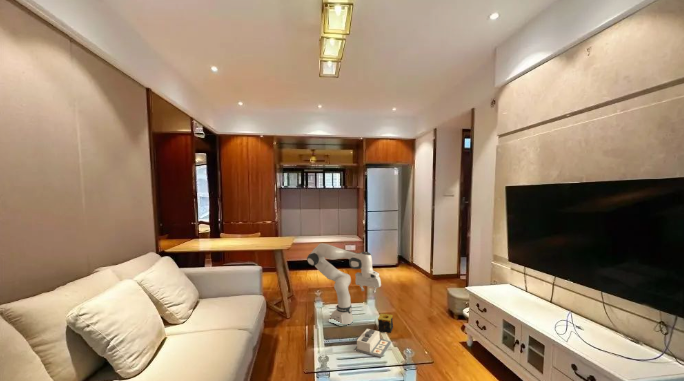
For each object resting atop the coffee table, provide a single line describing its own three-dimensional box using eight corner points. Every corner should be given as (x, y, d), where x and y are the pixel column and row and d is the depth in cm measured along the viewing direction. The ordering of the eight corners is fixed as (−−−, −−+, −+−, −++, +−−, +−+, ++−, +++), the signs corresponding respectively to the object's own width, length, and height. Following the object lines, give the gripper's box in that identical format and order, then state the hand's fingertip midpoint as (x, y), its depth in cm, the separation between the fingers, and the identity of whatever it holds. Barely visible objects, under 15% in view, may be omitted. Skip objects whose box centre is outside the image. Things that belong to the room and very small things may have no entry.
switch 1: (362, 348, 178) (361, 339, 178) (364, 345, 181) (363, 336, 181) (366, 349, 176) (366, 340, 176) (369, 346, 179) (368, 338, 179)
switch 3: (368, 340, 188) (368, 331, 188) (370, 337, 191) (370, 329, 191) (373, 341, 186) (372, 332, 186) (375, 338, 189) (374, 330, 189)
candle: (378, 332, 201) (377, 319, 201) (381, 325, 210) (380, 313, 211) (391, 333, 197) (390, 320, 197) (393, 327, 207) (392, 314, 207)
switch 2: (365, 342, 183) (364, 333, 183) (367, 339, 186) (366, 331, 186) (370, 343, 181) (369, 334, 181) (372, 340, 184) (371, 332, 184)
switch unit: (354, 350, 179) (353, 340, 179) (365, 336, 195) (365, 327, 195) (380, 358, 169) (380, 347, 169) (390, 342, 185) (390, 333, 185)
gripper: (353, 273, 198) (354, 291, 198) (377, 276, 188) (379, 295, 188) (357, 271, 204) (358, 288, 204) (381, 273, 193) (382, 291, 193)
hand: (368, 291), depth 195 cm, fingers open, 8 cm apart
